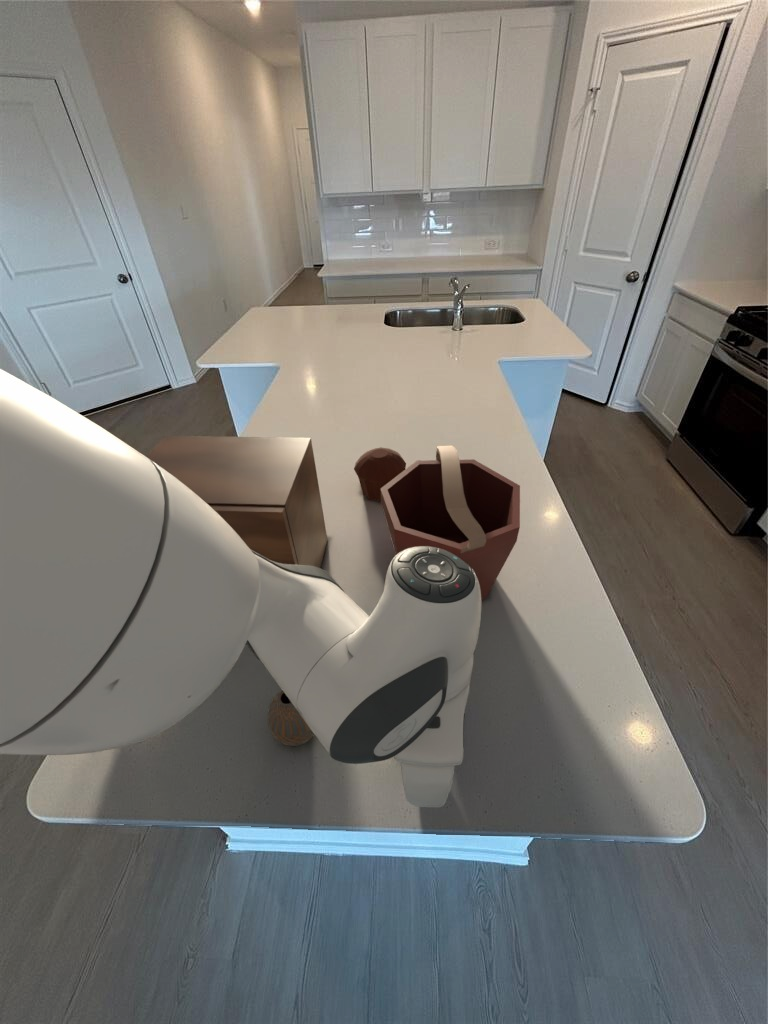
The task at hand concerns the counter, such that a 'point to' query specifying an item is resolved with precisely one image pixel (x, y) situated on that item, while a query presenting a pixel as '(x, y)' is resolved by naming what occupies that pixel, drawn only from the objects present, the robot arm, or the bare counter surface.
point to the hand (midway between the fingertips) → (424, 727)
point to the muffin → (378, 470)
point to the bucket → (455, 512)
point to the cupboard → (253, 480)
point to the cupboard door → (262, 530)
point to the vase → (287, 722)
